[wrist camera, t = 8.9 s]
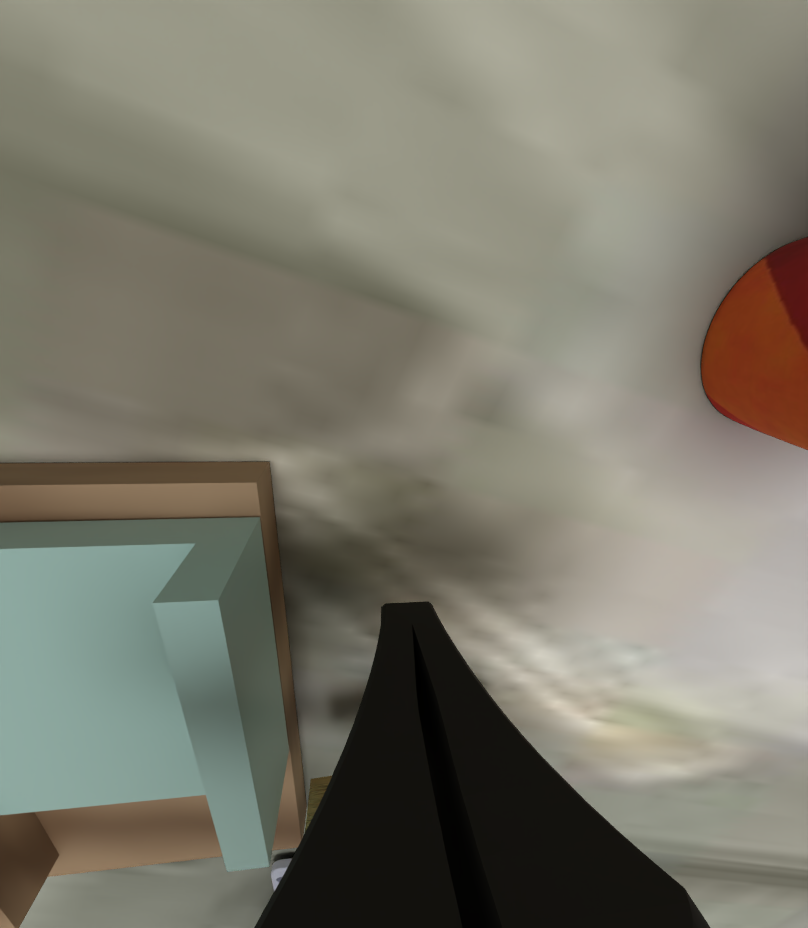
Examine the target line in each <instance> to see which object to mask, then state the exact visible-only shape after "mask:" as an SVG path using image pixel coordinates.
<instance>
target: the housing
mask: <svg viewBox="0 0 808 928" xmlns="http://www.w3.org/2000/svg"><path fill="white" fill-rule="evenodd" d="M242 517H260V524H261V531H262V539H263V547H264V555H265V563H266V571H267V579H268V587H269V595H270V603H271V611H272V619H273V626H274V634H275V642H276V650H277V658H278V666H279V674H280V682H281V690H282V698H283V706H284V714H285V721H286V729H287V737H288V745H289V753H288V759H287V765H286V771H285V777H284V783H283V789H282V795H281V801H280V807H279V813H278V819H277V825H276V831H275V837H274V843H273V849H272V850H280V849H288V848H297V847H298V846H299V844H300V842H301V840H302V838H303V834H304V825H305V816H306V807H307V805H306V795H305V786H304V777H303V768H302V758H301V749H300V740H299V731H298V721H297V712H296V703H295V694H294V684H293V675H292V666H291V657H290V648H289V638H288V629H287V620H286V611H285V601H284V592H283V583H282V574H281V564H280V555H279V546H278V537H277V527H276V518H275V509H274V500H273V490H272V481H271V472H270V463H269V462H144V463H0V523H11V522H57V521H103V520H149V519H196V518H242ZM220 856H223V855H222V852H221V848H220V844H219V841H218V837H217V834H216V830H215V826H214V823H213V819H212V816H211V812H210V808H209V805H208V801H207V798H206V795H200V796H190V797H179V798H169V799H159V800H149V801H139V802H129V803H119V804H109V805H99V806H89V807H79V808H69V809H59V810H49V811H39V812H29V813H19V814H8V815H0V928H19V927H20V925H21V923H22V921H23V920H24V918H25V916H26V914H27V912H28V911H29V909H30V907H31V905H32V904H33V902H34V900H35V898H36V896H37V895H38V893H39V891H40V889H41V887H42V886H43V884H44V882H45V880H46V878H47V877H49V876H58V875H66V874H75V873H83V872H92V871H101V870H109V869H118V868H126V867H135V866H143V865H152V864H160V863H169V862H177V861H186V860H194V859H203V858H211V857H220Z"/></svg>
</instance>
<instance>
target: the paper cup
mask: <svg viewBox="0 0 808 928" xmlns="http://www.w3.org/2000/svg"><path fill="white" fill-rule="evenodd" d="M701 374H702V381H703V386H704V389H705V392H706V394H707V397H708V398H709V400H710V402H711V403H712V405H713V406H714V407H715V408H716V409H717V410H718V411H719V412H720V413H722V414H723V415H724V416H726V417H728V418H730V419H732V420H733V421H736V422H738V423H740V424H743V425H745V426H747V427H750V428H752V429H754V430H757V431H760V432H762V433H765V434H767V435H770V436H772V437H775V438H778V439H780V440H783V441H785V442H788V443H790V444H793V445H796V446H798V447H801V448H804V449H806V450H808V237H806V238H803V239H800V240H797V241H794V242H792V243H789V244H787V245H785V246H783V247H781V248H779V249H777V250H775V251H773V252H772V253H770V254H769V255H767V256H766V257H764V258H763V259H762V260H760V261H759V262H758V263H756V264H755V265H754V266H753V267H752V268H751V269H749V270H748V271H747V272H746V273H745V274H744V275H743V276H742V277H741V278H740V280H739V281H738V282H737V283H736V284H735V285H734V286H733V288H732V289H731V290H730V292H729V293H728V294H727V296H726V297H725V299H724V300H723V302H722V303H721V305H720V307H719V308H718V310H717V312H716V314H715V316H714V318H713V320H712V322H711V325H710V327H709V330H708V332H707V336H706V339H705V342H704V347H703V352H702V360H701Z"/></svg>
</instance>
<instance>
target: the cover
mask: <svg viewBox="0 0 808 928" xmlns="http://www.w3.org/2000/svg"><path fill="white" fill-rule="evenodd" d="M288 753H289V745H288V737H287V729H286V721H285V714H284V706H283V698H282V690H281V682H280V674H279V666H278V658H277V650H276V642H275V634H274V626H273V619H272V611H271V603H270V595H269V587H268V579H267V571H266V563H265V555H264V547H263V539H262V531H261V524H260V517H242V518H196V519H149V520H103V521H57V522H11V523H0V815H8V814H19V813H29V812H39V811H49V810H59V809H69V808H79V807H89V806H99V805H109V804H119V803H129V802H139V801H149V800H159V799H169V798H179V797H190V796H200V795H206V798H207V801H208V805H209V808H210V812H211V816H212V819H213V823H214V826H215V830H216V834H217V837H218V841H219V844H220V848H221V852H222V855H223V859H224V862H225V866H226V870H227V872H231V871H239V870H247V869H255V868H263V867H270V861H271V855H272V849H273V843H274V837H275V831H276V825H277V819H278V813H279V807H280V801H281V795H282V789H283V783H284V777H285V771H286V765H287V759H288Z"/></svg>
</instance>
